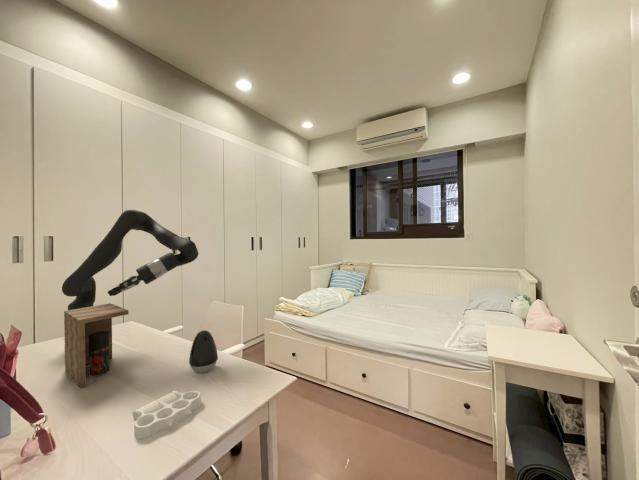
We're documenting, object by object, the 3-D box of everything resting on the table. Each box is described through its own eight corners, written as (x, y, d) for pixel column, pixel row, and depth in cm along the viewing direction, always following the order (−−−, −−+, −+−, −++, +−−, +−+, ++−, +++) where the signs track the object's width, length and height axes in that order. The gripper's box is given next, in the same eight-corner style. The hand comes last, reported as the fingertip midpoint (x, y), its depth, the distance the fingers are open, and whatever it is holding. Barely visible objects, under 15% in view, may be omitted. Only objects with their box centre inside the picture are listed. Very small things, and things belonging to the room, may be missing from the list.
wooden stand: (65, 372, 102) (64, 311, 102) (111, 357, 114) (110, 303, 114) (80, 388, 91) (78, 320, 91) (129, 370, 103) (128, 310, 103)
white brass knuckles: (182, 393, 89) (210, 407, 81) (119, 426, 73) (147, 448, 66) (182, 383, 89) (210, 396, 81) (119, 414, 73) (147, 434, 66)
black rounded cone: (194, 379, 96) (193, 337, 96) (185, 369, 104) (185, 330, 104) (222, 370, 103) (221, 331, 103) (212, 360, 111) (212, 324, 111)
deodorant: (113, 369, 105) (113, 331, 104) (99, 376, 99) (99, 336, 98) (99, 368, 105) (99, 330, 105) (85, 376, 99) (84, 336, 99)
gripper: (147, 265, 119) (107, 286, 110) (146, 262, 107) (101, 285, 98) (157, 279, 120) (118, 301, 112) (157, 277, 108) (113, 302, 100)
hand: (110, 294), depth 105 cm, fingers open, 8 cm apart
